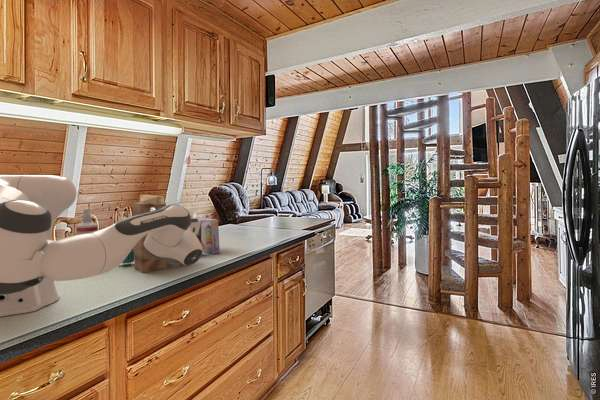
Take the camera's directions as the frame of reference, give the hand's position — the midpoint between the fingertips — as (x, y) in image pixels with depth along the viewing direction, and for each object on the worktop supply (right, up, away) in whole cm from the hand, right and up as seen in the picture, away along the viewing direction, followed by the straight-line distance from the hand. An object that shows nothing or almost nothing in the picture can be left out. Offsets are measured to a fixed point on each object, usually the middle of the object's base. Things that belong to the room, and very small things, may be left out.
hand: (164, 208), depth 130 cm
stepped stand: (-7, -26, +16) cm, 31 cm away
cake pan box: (+3, -24, +46) cm, 52 cm away
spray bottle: (-39, -26, +15) cm, 49 cm away
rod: (-9, +2, +9) cm, 12 cm away
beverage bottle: (-24, -26, +18) cm, 40 cm away
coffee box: (-1, -25, +36) cm, 44 cm away
